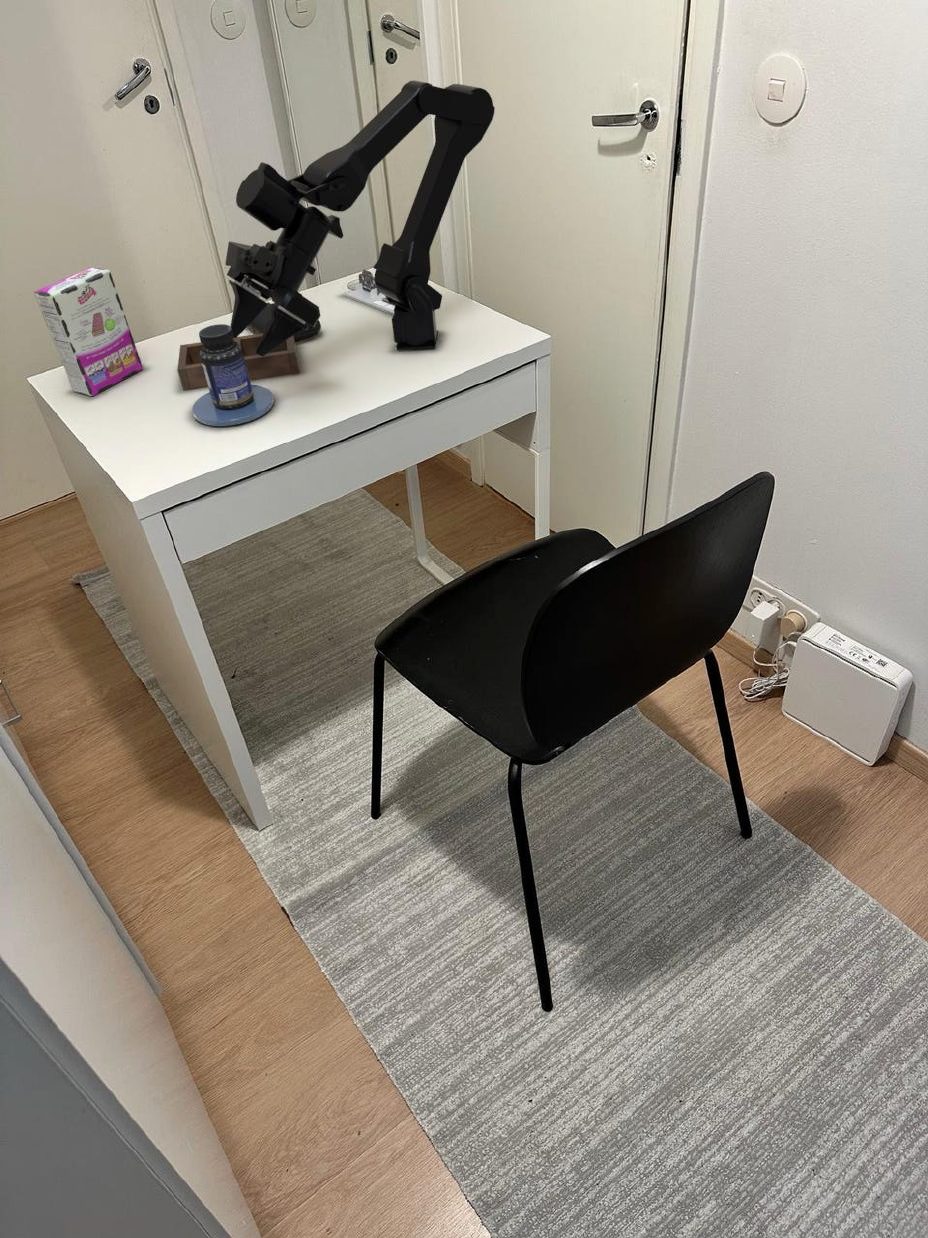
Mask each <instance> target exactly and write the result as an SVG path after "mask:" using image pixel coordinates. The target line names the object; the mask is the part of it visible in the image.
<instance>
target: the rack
mask: <svg viewBox="0 0 928 1238" xmlns="http://www.w3.org/2000/svg"><path fill="white" fill-rule="evenodd" d="M262 335H263V333H261V334H257V333H255V334H247V335H241V336H237V337H236V338H233V341H236V342H237V343H239V344H240V345H241V348H242V351H243V355H244V359H245V363H246V367H247V371H248V375H249V379H250V381H254V380H262V379H267V378H275V377H280V376H287V375H294V374H300V373H301V372H300V365H299V364H300V363H299V356H298V350H297V344H296V343H295V339H294V335H293V336H292V337H290V338H289V339H287V340H286V341H284V342H283V343H281V344H280V345H278V346H277V347H276V348H274V349H273V350H271V351H270V352H269V353H267V354H266V355H264V356H260V355H258V354H257V353H256V351H257V348H258V345H259V342H260V340H261V337H262ZM203 346H204V345H203V344H202V343H201V341H200V342H199V341H198V342H193V343H186V344H180V345H179V354H178V360H177V361H178V362H177V367H176V368H177V369H176V371H177V374H178V377H179V380H180V383H181V384H180V385H181V387H182V390H183V391H189V390H195V389H202V388H209V387H208V384H207V380H206V377H205V373H204V370H203V366H202V362H201V359H200V351H201V349H202V348H203Z"/></svg>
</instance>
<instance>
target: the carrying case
mask: <svg viewBox="0 0 928 1238" xmlns="http://www.w3.org/2000/svg"><path fill="white" fill-rule="evenodd" d="M271 304H272V305H274V306H276V307H277V308H278V306H279V305H278V304H276V303H274V302H272V303H271ZM269 317H270V316H269V310H268V305H267V306H266V307H265V308H264V309H263V310H262V311H261V312H260V313H259V314H258V316H257V317H256V318H255V319H254V320H253V321H252V322H251V323H250V324H249V325H248V326H247V328H249V329H251V330H252V331H254V332H255V334H261V333H263V332H264V330H265V328H266V325H267V323H268V320H269ZM304 325H306V326H307V327H308V328H307V330H305V329H303V330H301V331H300V332H298V333H297V334H295V335H294V339H295V344H296V343H298V342H302V341H306V340H309V339H311V338H315V337H316V336H318V335H319V332H321V330H322V324H321V321H320V320H319V319H318V321H317V323H316V325H315V327H313V326H311V325H309V324H308V323H306V322H305V324H304Z"/></svg>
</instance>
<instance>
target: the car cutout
mask: <svg viewBox="0 0 928 1238" xmlns="http://www.w3.org/2000/svg"><path fill="white" fill-rule="evenodd" d="M361 271H362V272H361V273H359V274H358V283H357V284H356V285H355V288H354V290H351V291H348V292H347V293H344V297H345V298H348V299H351V300H354V301H356V302H358V303H360V304H364V305H366V306H369V307H371V308H374V309H376V310H378V311H382V312H385V313H387V314H389V315H391V316H393V314H394V308H395V305H394V304H392V303H389V302H388V301H387V299H386V297H385V295H383V294H382V293H380V292H379V290H378V289H377V286H376V283H375V281H374V274H373V273H372V272H371V271H370V270H367V269H362V270H361Z"/></svg>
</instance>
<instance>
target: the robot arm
mask: <svg viewBox="0 0 928 1238" xmlns="http://www.w3.org/2000/svg"><path fill="white" fill-rule="evenodd" d="M495 109H496V108H495V106H494V101H493V98H492V96H491V94H490V93H489V92H488V91H487V90H486V89H484V88H482V87H477V86H472V85H466V84H462V83H461V84H460V83H452V84H450V85H448V86H445V88H444V87H439V86H434V85H433V84H432V83H430V82H425V81H420V80H409V81H408V82H406V83H405V84H404V85H403V86H402V87H401V90H400V91H399V93H398V94H396V96H394V97H393V99H392V100H390V101H389V102H388V103H387V104H386V105H385V106H384V107H383V108H382V109H381V110H380V111H379V112H378V113H377V114H376V115H375V116H374V117H373V118H372V119H371V120H370V121H369V122H368V123H366V124H365V126H363V128H361V130H360V131H359V132H358V133H356V135H355V136H353V137H352V138H351V139H350V140H349V141H348V142H347V143H345V144H344V145H342V146H341V147H338V148H336V149H334V150H331V151H329V152H326V153H325V154H324V155H322V156H320V157H318V159H315V160H314V161H313V162H312V163H310V164H308V166H306V168H305V170H304V172H303V173H301V174H299V175H297V176H294V177H293V178H289V179H288V180H287V179H286V178H285V177H283V176H282V175H281V174H280V173H279V172H278V171H277V170H276V168H274V167H273V166H272V165H270V164H269V163H266V162H263V161H261V162H260V163H259V165H258V167H257V169H255V170H252V171H251V172H250V173H249V174H248V175H247V176H246V178H245V179H242V181H241V183H240V184H239V187H238V189H237V193H236V195H235V196H236V197H235V204H236V206H237V207H238V208H239V209H240V210H242V211H243V212H245V213H246V214H247V215H249V216H250V217H251V218H253V219H255V220H256V221H257V222H258V223H260V224H262V225H263V226H264V227H266V228H267V229H269V230H270V231H272V232H274V231H278V230H280V229H282V230H281V232H280V233H279V236H278V238H277V239H276V241H275V242H274V241H272V240H269V241H267V242H266V243H265V245H259V244H256V243H253V244H252V245H249V244H246V243H245V244H244V243H240V242H234V241H228V245H227V251H226V256H225V264H224V265H225V266H227V267H229V269H228V270H227V273H226V276H227V277H229V278H231V279H232V280H231V279H228V283H229V285H230V286H231V289H232V292H233V295H234V304H233V309H232V314H231V321H230V324H229V326H231V328H232V331H233V335H234V337H233V338H236V337H240V335H241V334H242V333H243V332H244V331H245V330H246V329H247V328H248V325H249V324H250V323H251V322H252V321H253V320H254V319H255V318H256V317H257V316H258V314H259V313H260V312H261V311H262V310H263V309H264V308H265V307H266V306H267V305H268V310H269V316H270V317H269V320H268V323H267V325H266V328H265V330H264V332H263V335H262V337H261V340H260V342H259V345H258V348H257V351H256V353H257V354H258V355H260V356H264V355H266V354H267V353H269V352H270V351H271V350H273V349H274V348H276V347H277V346H278V345H280V344H281V343H283V342H284V341H286V340H287V339H289V338H290V337H292V336H293V335H295V334H297V333H298V332H300V331H301V330H303V329H305V330H307V328H308V327H307V326H306V325H304V324H305V322H306V323H308V324H309V325H311V326H313V327H315V325H316V323H317V321H318V320H319V319H320V317H321V311H320V306H318V305H317V304H316V303H314V302H313V301H311V300H309V299H308V298H306V297H305V296H304V295H303V294H302V293H300V292H299V290H300V288H301V286H302V284H303V283H304V280H305V278H306V277H307V274H309V275H311V276H314V274H315V272H316V271H317V268H315V267H314V266H313V263H314V262H315V259H316V258H317V256H318V254H319V252H320V250H321V248H322V246H324V245H323V244H324V243H325V241H326V239H327V237H328V235H332V236H333V237H337V238H338V239H343V238H344V232H343V229H342V226H341V219H340V217H338V216H336V215H333V214H330V215H327V214H325V213H324V212H323V211H321V210H320V209H319V208H317V207H321V208H325V209H328V210H330V211H332V212H338V213H340V212H341V213H343V212H345V211H347V210H348V209H350V208H351V207H352V206H353V205H354V203H356V201H357V199H358V198H359V196H360V195H361V194H362V193H363V191H364V189H365V188H366V185H367V182H368V180H369V176H370V174H371V173H372V171H373V170H374V168H376V167H377V166H378V164H379V163H381V161H383V160H384V159H385V158H386V157H387V156H388V155H389V154H390V153H391V152H392V151H393V150H394V149H395V148H396V147H397V146H398V145H399V144H400V143H401V142H402V141H403V140H404V139H405V138H406V137H407V136H408V135H409V134H410V133H411V132H412V131H413V130H414V129H415V128H416V127H417V126H418V125H419V124H420V123H421V122H423V120H424V119H425V118H426V117H428V116H429V115H432V116H434V118H433V120H434V121H433V123H434V124H433V126H434V145H433V149H432V150H431V154H430V156H429V159H428V162H427V165H426V167H425V170H424V171H423V172H424V173H423V175H422V178H421V181H420V183H419V186H418V189H417V190H416V194H415V197H414V199H413V201H412V205H411V207H410V210H409V213H408V216H407V218H406V221H405V223H404V226H403V229H402V232H401V234H400V236H399V238H398V239H397V240H396V241H395V242H394V243H393V244H392V245H391V244H388V243H386V242H384V243H383V244H382V246H381V248H380V253H379V256H378V259H377V261H376V263H375V264H374V265H373V266H372V268H373V269H374V270H375V273H374V275H373V277H374V281H375V283H376V286H377V289H378V290H379V292H380V293H382V294H383V295H385V297H386V299H387V301H388V302H389V303H392V304H394V305H395V308H394V314H393V315H391V316H392V317H391V326H392V327H391V328H392V333H393V334H392V335H393V342H394V343H395V344H396V346H395V349H396V350H397V351H416V350H434V349H436V348H437V345H438V339H439V335H440V332H439V330H438V329H437V320H436V311H437V310H439V309H441V304H442V300H443V294H442V293H440V292H439V291H438V290H437V289H435V288H434V287H433V286H431V285H430V284H429V281H430V278H431V277H430V276H431V272H432V271H431V270H432V269H431V254H430V253H431V252H430V251H431V247H432V246H433V242H434V240H435V237H436V234H437V232H438V230H439V227H440V224H441V222H442V219H443V216H444V214H445V211H446V209H447V207H448V204H449V202H450V198H451V195H452V193H453V190H454V187H455V185H456V182H457V180H458V178H459V175H460V172H461V169H462V166H463V164H464V162H465V159H466V157H468V155H469V154H470V153H471V152H472V151H473V150H474V149H475V148H476V147H477V146H478V145H479V144H480V143H481V142H482V140H483V138H484V137H485V135H486V133H487V131H488V129H489V128H490V126H491V124H492V122H493V119H494V116H495ZM300 201H303V202H305V203H308V204H310V206H308V207H305V206H304V205H303V204H301V203H300ZM311 205H314V206H311ZM261 297H262V298H263V299H264V300H266V301H267V300H269V299H271V301H272V303H276V304H278V305H279V306H278V308H277V307H276V306H274V305H272V303H270V302H269V301H267V302H266V301H264V300H263V299H261Z"/></svg>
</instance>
